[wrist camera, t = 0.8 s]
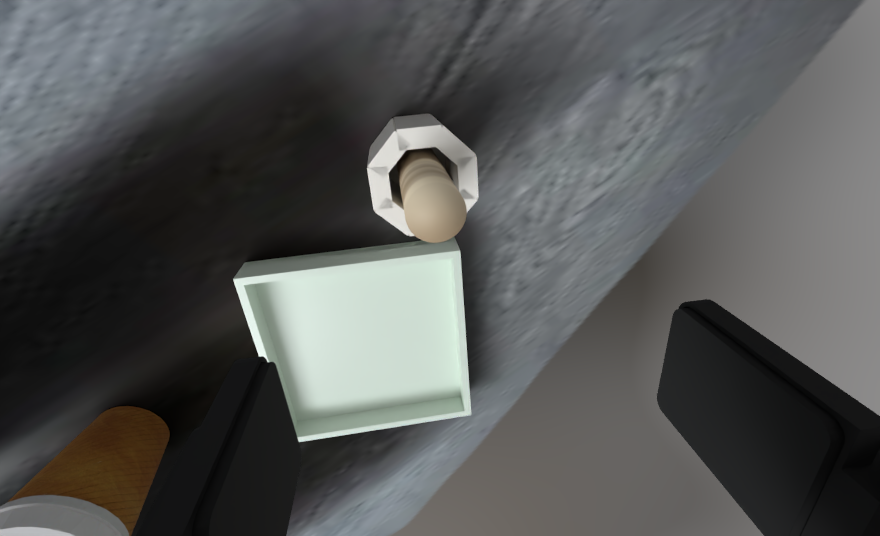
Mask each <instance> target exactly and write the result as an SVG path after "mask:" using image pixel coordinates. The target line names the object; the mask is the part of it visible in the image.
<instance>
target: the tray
mask: <svg viewBox="0 0 880 536" xmlns="http://www.w3.org/2000/svg"><path fill="white" fill-rule="evenodd" d="M233 280H234V283H235V286H236V289H237V292H238V295H239V298H240V301H241V304H242V307H243V310H244V313H245V316H246V319H247V322H248V325H249V328H250V331H251V334H252V337H253V340H254V343H255V346H256V349H257V352H258V355H259V357H261V356H263V357H265V358H266V360H267V362H274V363H275V364H276V367H277V370H278V373H279V377H280V380H281V383H282V387H283V390H284V394H285V397H286V400H287V404H288V407H289V411H290V414H291V417H292V421H293V424H294V428H295V431H296V434H297V438H298V441H299V442H303V441H309V440H315V439H322V438H328V437H334V436H341V435H347V434H353V433H360V432H366V431H372V430H379V429H385V428H392V427H398V426H404V425H411V424H417V423H423V422H430V421H436V420H442V419H449V418H455V417H461V416H468V415H471V404H470V389H469V374H468V359H467V344H466V329H465V314H464V299H463V283H462V268H461V253H460V249H459V246H458V244H457V242H456V239H455V237H452V238H451V239H449V240H447V241H444V242H439V243H430V242H426V241H423V240H422V241H413V242H405V243H397V244H389V245H381V246H373V247H365V248H357V249H349V250H341V251H333V252H325V253H316V254H308V255H300V256H292V257H284V258H276V259H268V260H260V261H252V262H245V263H244V264H243V266H242V267H241V269H240V270H239V271H238V273H237V274H236V276H235V277H234V279H233Z"/></svg>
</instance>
